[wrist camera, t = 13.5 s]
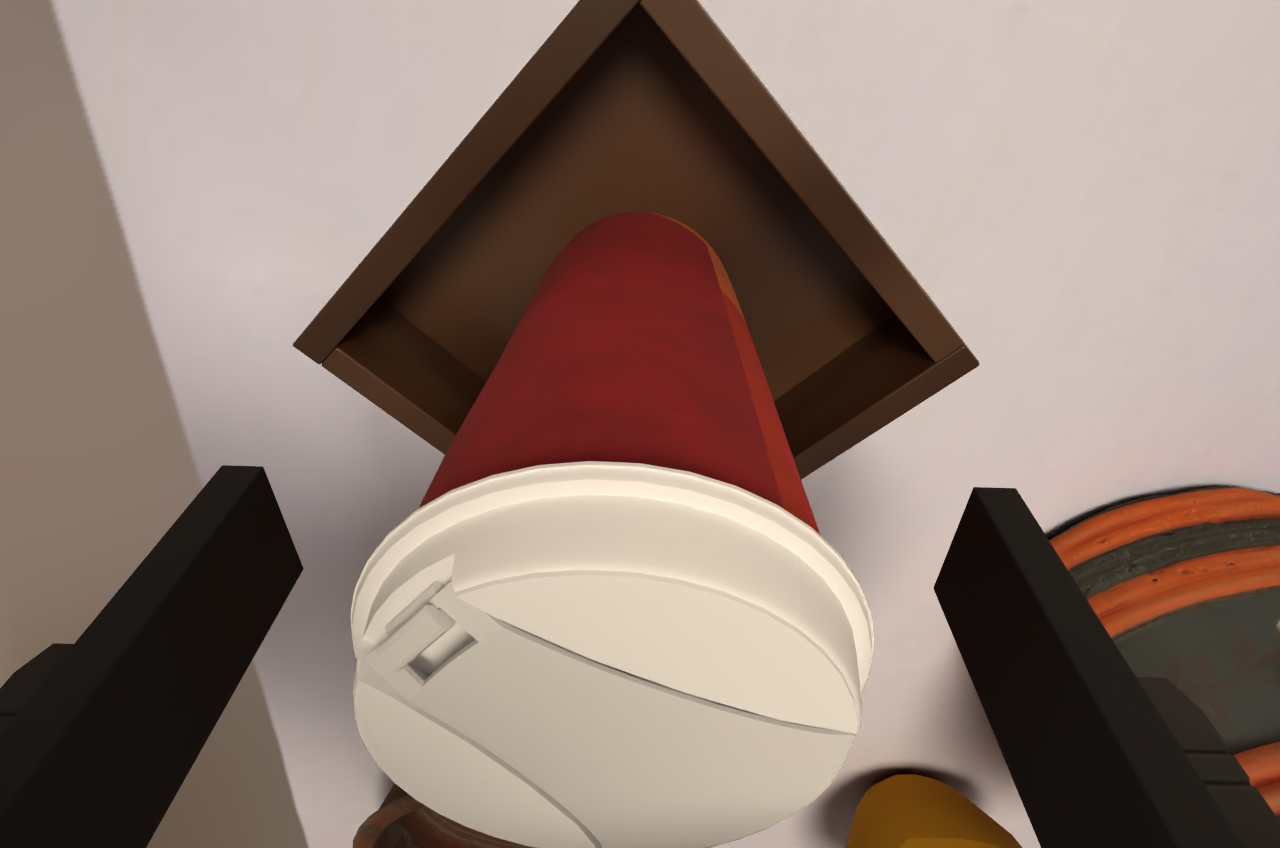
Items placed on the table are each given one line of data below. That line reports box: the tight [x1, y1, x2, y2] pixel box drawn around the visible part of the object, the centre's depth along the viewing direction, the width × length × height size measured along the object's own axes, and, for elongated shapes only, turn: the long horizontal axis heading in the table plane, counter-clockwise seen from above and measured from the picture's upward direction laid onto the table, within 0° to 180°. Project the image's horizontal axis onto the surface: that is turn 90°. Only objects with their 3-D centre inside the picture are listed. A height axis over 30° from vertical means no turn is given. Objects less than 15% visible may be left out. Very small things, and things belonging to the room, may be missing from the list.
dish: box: [353, 784, 535, 848], centre depth 39 cm, size 18×22×5 cm
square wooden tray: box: [293, 0, 979, 479], centre depth 21 cm, size 14×14×4 cm
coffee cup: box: [350, 212, 875, 848], centre depth 16 cm, size 8×8×15 cm
